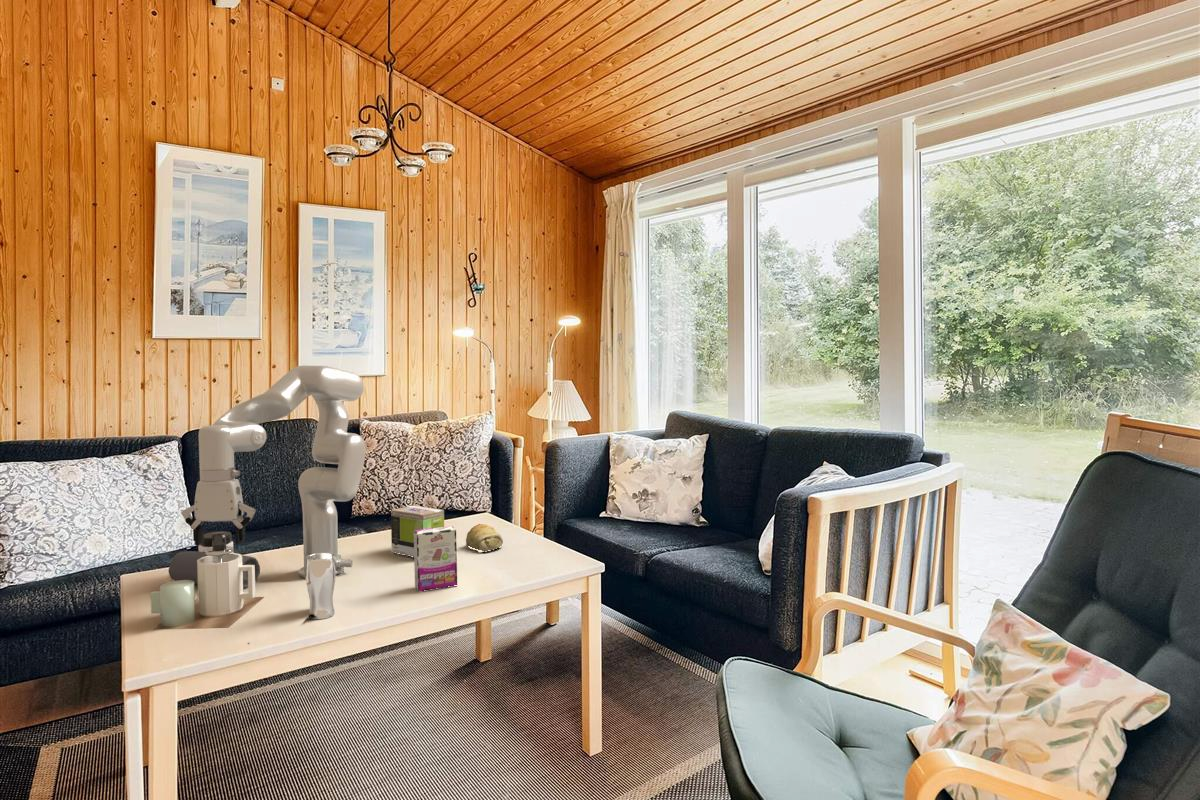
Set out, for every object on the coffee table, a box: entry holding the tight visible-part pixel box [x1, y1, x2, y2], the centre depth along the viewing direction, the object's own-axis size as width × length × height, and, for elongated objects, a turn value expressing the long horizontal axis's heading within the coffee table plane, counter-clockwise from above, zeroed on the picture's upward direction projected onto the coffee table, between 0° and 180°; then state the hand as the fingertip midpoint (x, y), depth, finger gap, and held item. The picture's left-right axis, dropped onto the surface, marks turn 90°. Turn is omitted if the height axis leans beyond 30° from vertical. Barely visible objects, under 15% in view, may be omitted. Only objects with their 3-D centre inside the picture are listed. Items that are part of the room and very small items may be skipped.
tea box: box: [390, 505, 445, 558], centre depth 228 cm, size 15×10×15 cm, turn 58°
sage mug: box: [150, 580, 196, 627], centre depth 166 cm, size 9×7×9 cm
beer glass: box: [305, 552, 337, 620], centre depth 174 cm, size 7×7×15 cm
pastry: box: [465, 523, 504, 551], centre depth 236 cm, size 14×12×8 cm
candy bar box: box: [413, 525, 458, 592], centre depth 195 cm, size 11×5×16 cm, turn 117°
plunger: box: [206, 531, 234, 563], centre depth 173 cm, size 7×7×17 cm
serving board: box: [152, 596, 265, 630], centre depth 172 cm, size 17×21×1 cm
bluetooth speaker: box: [168, 550, 261, 589], centre depth 194 cm, size 23×9×10 cm, turn 77°
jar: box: [197, 530, 234, 553], centre depth 205 cm, size 9×8×12 cm
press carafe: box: [197, 552, 256, 617], centre depth 174 cm, size 13×10×13 cm
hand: (219, 543), depth 173 cm, fingers open, 9 cm apart
